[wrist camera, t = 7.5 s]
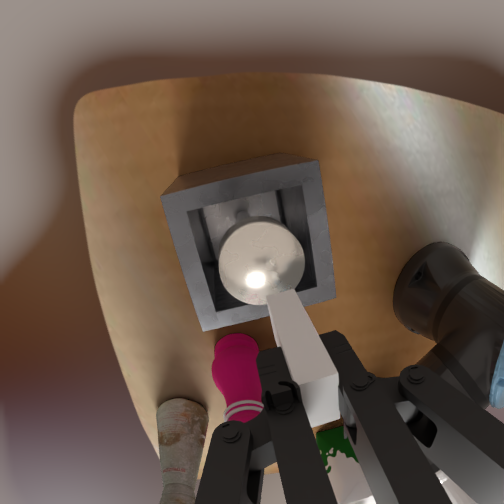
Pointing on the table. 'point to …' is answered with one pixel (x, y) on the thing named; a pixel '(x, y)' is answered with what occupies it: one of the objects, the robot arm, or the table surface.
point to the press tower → (291, 215)
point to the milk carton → (343, 468)
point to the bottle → (180, 448)
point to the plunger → (254, 248)
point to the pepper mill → (238, 376)
